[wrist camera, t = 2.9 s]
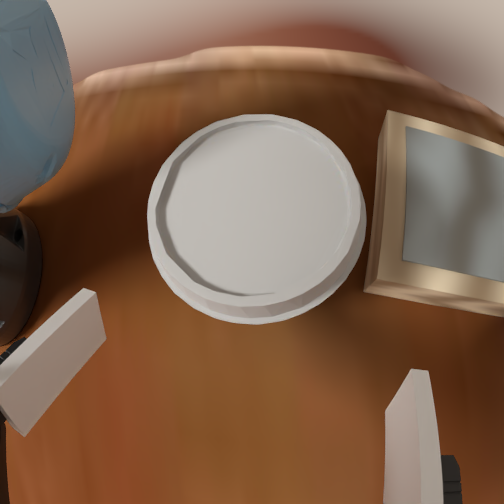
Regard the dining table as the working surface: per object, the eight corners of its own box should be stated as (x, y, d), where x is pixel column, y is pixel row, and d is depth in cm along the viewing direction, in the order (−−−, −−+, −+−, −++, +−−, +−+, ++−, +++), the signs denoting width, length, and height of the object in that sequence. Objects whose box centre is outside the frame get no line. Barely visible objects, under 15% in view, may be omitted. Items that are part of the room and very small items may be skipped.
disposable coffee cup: (264, 191, 26) (244, 80, 15) (360, 266, 23) (414, 186, 12) (181, 278, 24) (98, 213, 13) (274, 366, 22) (258, 378, 10)
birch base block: (363, 291, 23) (377, 278, 19) (378, 138, 26) (388, 108, 22) (510, 318, 20) (539, 309, 16) (503, 176, 24) (524, 153, 20)
